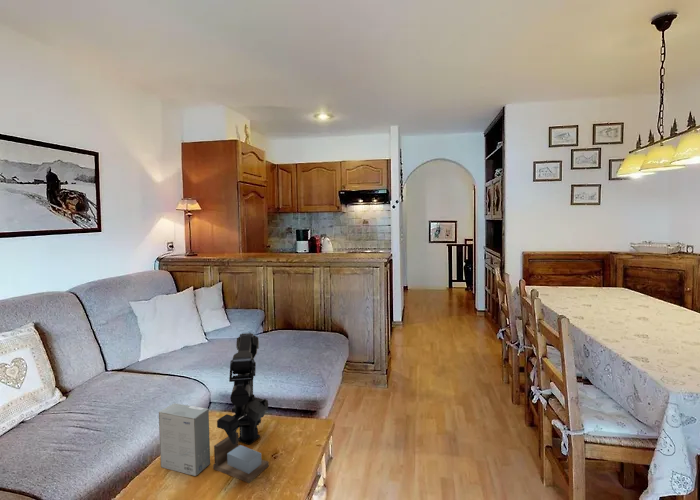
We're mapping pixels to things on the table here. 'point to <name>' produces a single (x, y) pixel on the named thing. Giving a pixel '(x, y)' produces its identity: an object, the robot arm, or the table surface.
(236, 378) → the robot arm
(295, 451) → the table surface
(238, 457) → the grey rectangular block
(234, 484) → the table surface
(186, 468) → the hard drive box
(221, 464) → the walnut shelf
